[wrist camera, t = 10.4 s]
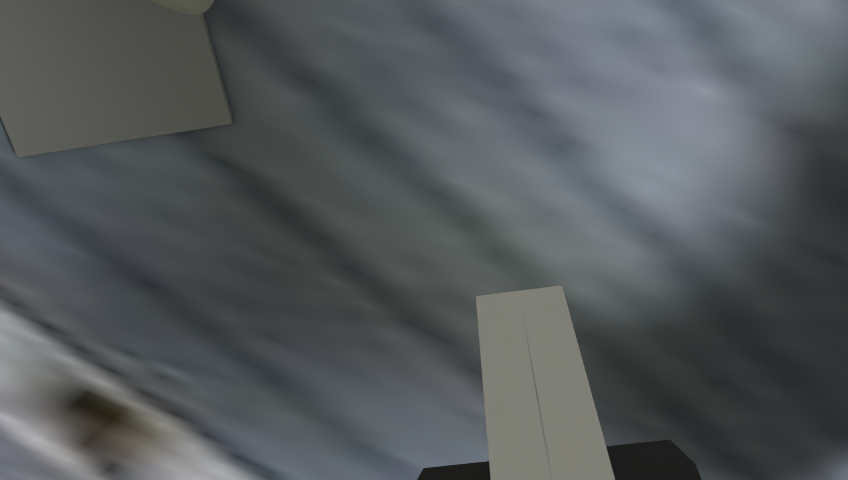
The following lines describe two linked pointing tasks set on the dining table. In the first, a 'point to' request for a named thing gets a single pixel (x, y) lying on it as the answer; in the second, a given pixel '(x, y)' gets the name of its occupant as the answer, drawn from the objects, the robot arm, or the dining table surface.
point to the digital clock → (186, 5)
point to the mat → (104, 73)
